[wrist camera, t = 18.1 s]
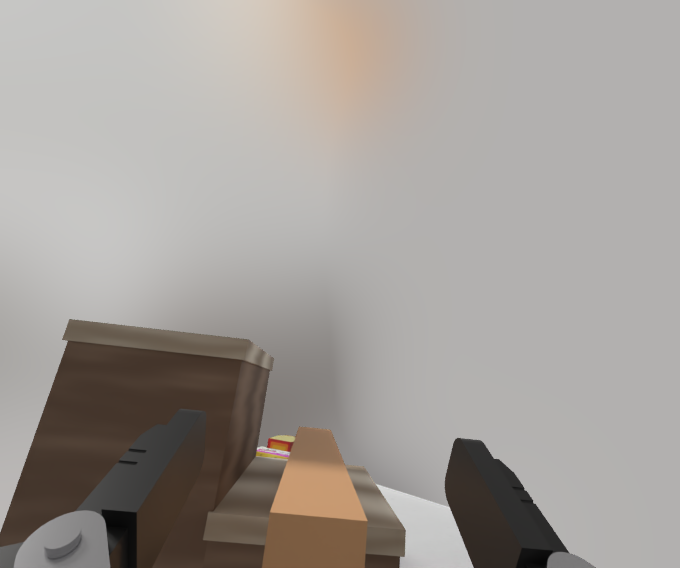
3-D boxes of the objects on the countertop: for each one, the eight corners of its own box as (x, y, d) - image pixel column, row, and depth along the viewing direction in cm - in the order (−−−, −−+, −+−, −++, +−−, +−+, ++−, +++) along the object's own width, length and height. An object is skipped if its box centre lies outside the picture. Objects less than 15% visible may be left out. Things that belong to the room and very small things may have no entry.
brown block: (359, 645, 9) (367, 521, 10) (251, 638, 9) (270, 512, 10) (327, 465, 30) (330, 429, 31) (294, 462, 30) (299, 426, 31)
